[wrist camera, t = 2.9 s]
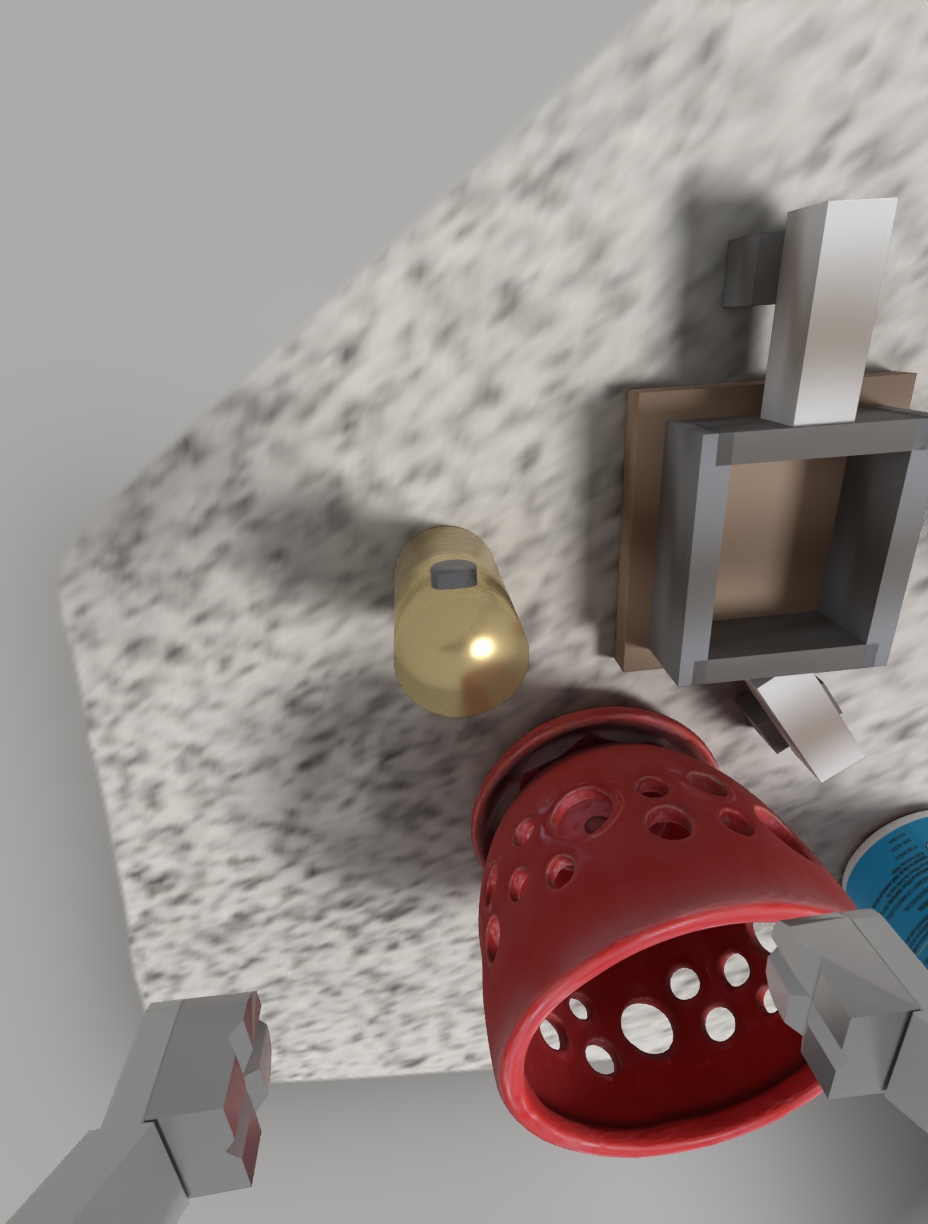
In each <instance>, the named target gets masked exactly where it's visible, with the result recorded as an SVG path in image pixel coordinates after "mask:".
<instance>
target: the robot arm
mask: <svg viewBox="0 0 928 1224" xmlns="http://www.w3.org/2000/svg"><path fill="white" fill-rule="evenodd" d="M772 938H773V940H774V942H775V943H776V945H777V948H776V949H775V950H774V951H773V952H772V953H771V954H770V955H769V956H768V959H767V967H766V976H767V981H768V986H769V991H770V993H771V996H772V999H773V1001H774V1004H775V1006H776V1008H777V1010H778V1012H779V1013H780V1015H781V1017H782V1019H783V1021H784V1022H785V1023H786V1024H787V1025H789V1026H790V1027H791V1028H793V1029H794V1030H796V1031H797V1032H798V1033H800V1034H801V1035H802V1048H801V1053H802V1054H803V1056H804V1058H805V1060H806V1061H807V1063H808V1065H809V1067H810V1068H811V1070H812V1072H813V1074H814V1075H815V1077H816V1079H817V1081H818V1082H819V1084H820V1086H821V1088H822V1090H823V1091H824V1093H825V1095H826V1096H827V1098H828V1099H835V1098H843V1097H851V1096H860V1095H868V1094H877V1093H885V1097H886V1098H887V1099H888V1100H889V1101H891V1102H892V1103H893V1104H894V1105H895V1106H896V1107H898V1108H899V1109H900V1110H901V1111H902V1112H903V1113H905V1114H906V1115H907V1116H908V1117H909V1118H910V1119H912V1120H913V1121H914V1122H915V1123H916V1124H917V1125H918V1126H920V1127H921V1128H922V1129H923V1130H924V1131H926V1132H927V1133H928V970H927V969H926V967H925V966H924V965H923V964H922V963H921V961H920V960H919V959H918V958H917V957H916V956H915V954H914V953H913V952H912V951H911V950H910V948H909V947H908V946H907V945H906V944H905V942H904V941H903V940H902V939H901V938H900V937H899V935H898V934H897V933H896V932H895V931H894V929H893V928H892V927H891V926H890V925H889V924H888V922H887V921H886V920H885V919H884V918H883V916H882V915H881V914H880V913H878V912H876V911H875V910H873V909H860V910H854V911H847V912H841V913H837V912H833V913H826V914H819V915H813V916H806V917H799V918H793V919H786V920H780V921H778V922H777V923H776V924H775V925H774V928H773V933H772ZM260 1010H261V1003H260V1000H259V997H258V994H257V991H252V992H244V993H235V994H226V995H217V996H208V997H199V998H190V999H180V1000H172V1001H164V1002H156V1003H151V1004H150V1006H149V1007H148V1009H147V1010H146V1011H145V1013H144V1014H143V1016H142V1018H141V1021H140V1023H139V1026H138V1029H137V1032H136V1034H135V1037H134V1040H133V1042H132V1045H131V1048H130V1050H129V1053H128V1056H127V1058H126V1061H125V1064H124V1067H123V1069H122V1072H121V1075H120V1077H119V1080H118V1083H117V1085H116V1088H115V1091H114V1093H113V1096H112V1099H111V1101H110V1104H109V1107H108V1109H107V1112H106V1115H105V1118H104V1120H103V1123H102V1126H101V1128H100V1129H96V1130H91V1131H89V1132H88V1133H87V1134H86V1135H85V1136H84V1137H83V1138H82V1139H81V1141H80V1142H79V1143H78V1144H77V1145H76V1146H75V1147H74V1148H73V1149H72V1150H71V1152H70V1153H69V1154H68V1155H67V1156H66V1157H65V1158H64V1159H63V1160H62V1162H61V1163H60V1164H59V1165H58V1166H57V1167H56V1168H55V1169H54V1170H53V1172H52V1173H51V1174H50V1175H49V1176H48V1177H47V1178H46V1179H45V1180H44V1182H43V1183H42V1184H41V1185H40V1186H39V1187H38V1188H37V1189H36V1190H35V1192H34V1193H33V1194H32V1195H31V1196H30V1197H29V1198H28V1199H27V1200H26V1201H25V1203H24V1204H23V1205H22V1206H21V1207H20V1208H19V1209H18V1210H17V1212H16V1213H15V1214H14V1215H13V1216H12V1217H11V1218H10V1219H9V1220H8V1221H7V1223H6V1224H176V1223H177V1222H178V1220H179V1218H180V1217H181V1215H182V1214H183V1212H184V1211H185V1209H186V1207H187V1206H188V1204H189V1201H188V1199H189V1198H194V1197H200V1196H205V1195H210V1194H216V1193H221V1192H227V1191H232V1190H238V1189H243V1188H248V1187H252V1182H253V1176H254V1170H255V1164H256V1159H257V1153H258V1146H259V1141H260V1136H261V1129H260V1126H259V1123H258V1119H257V1116H256V1113H255V1112H256V1111H257V1109H258V1108H259V1107H260V1105H261V1104H262V1102H263V1101H264V1100H265V1098H266V1097H267V1094H268V1087H269V1081H270V1074H271V1042H270V1034H269V1031H268V1027H267V1025H266V1024H265V1023H263V1022H262V1021H260V1020H259V1015H260Z"/></svg>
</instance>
